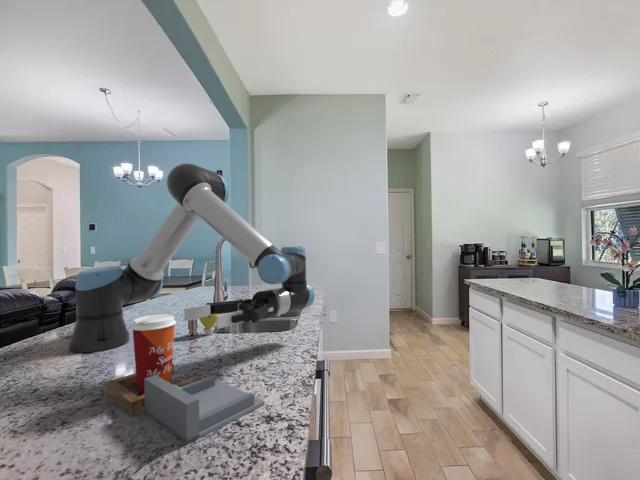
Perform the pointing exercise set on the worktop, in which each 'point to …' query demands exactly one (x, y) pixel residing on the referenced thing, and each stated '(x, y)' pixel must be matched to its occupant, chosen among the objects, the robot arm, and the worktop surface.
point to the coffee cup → (153, 347)
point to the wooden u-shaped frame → (129, 400)
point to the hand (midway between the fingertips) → (200, 318)
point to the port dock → (195, 406)
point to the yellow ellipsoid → (208, 323)
